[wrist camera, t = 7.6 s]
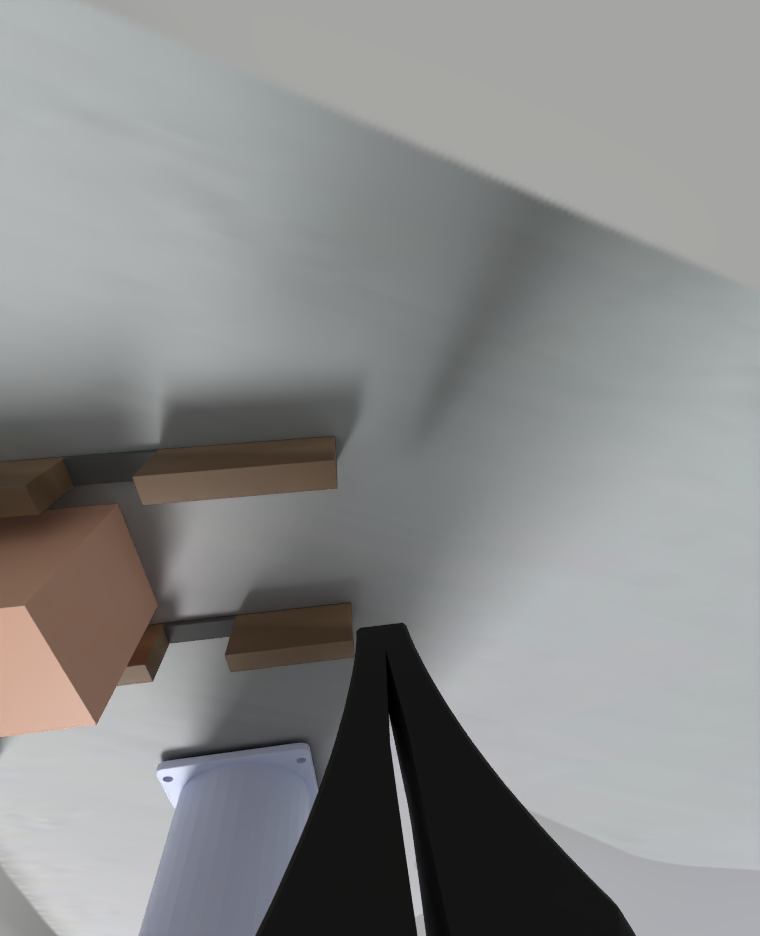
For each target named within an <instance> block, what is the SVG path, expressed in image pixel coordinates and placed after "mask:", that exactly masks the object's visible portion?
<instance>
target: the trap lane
mask: <svg viewBox="0 0 760 936" xmlns="http://www.w3.org/2000/svg"><path fill="white" fill-rule="evenodd" d="M124 481H134V483H135V486H136V489H137V491H138V494H139V497H140V500H141V502H142V505H153V504H164V503H176V502H187V501H198V500H210V499H221V498H233V497H244V496H255V495H267V494H278V493H290V492H301V491H312V490H324V489H335V488H337V458H336V448H335V438H334V436H328V437H315V438H302V439H289V440H277V441H264V442H251V443H238V444H225V445H212V446H199V447H186V448H173V449H160V450H147V451H134V452H121V453H108V454H96V455H83V456H70V457H57V458H44V459H31V460H18V461H5V462H0V518H5V517H16V516H27V515H39V514H41V513H42V512H43V511H44V510H45V509H47V508H48V507H49V506H50V505H51V504H53V503H54V502H55V501H56V500H57V499H59V498H60V497H61V496H62V495H63V494H65V493H66V492H67V491H68V490H69V489H70V488H72V487H73V486H75V485H87V484H99V483H111V482H124ZM222 637H230V639H229V643H228V646H227V650H226V653H225V657H226V660H227V663H228V667H229V670H230V672H236V671H245V670H253V669H261V668H269V667H278V666H286V665H294V664H302V663H310V662H319V661H327V660H335V659H343V658H352V657H355V655H354V638H353V621H352V610H351V603H345V604H336V605H327V606H318V607H309V608H300V609H291V610H282V611H273V612H264V613H255V614H246V615H236V616H227V617H218V618H209V619H200V620H191V621H182V622H173V623H164V624H155V625H148V626H147V628H146V630H145V632H144V634H143V636H142V638H141V640H140V641H139V643H138V645H137V647H136V649H135V651H134V653H133V655H132V657H131V659H130V661H129V663H128V665H127V667H126V669H125V670H124V672H123V674H122V676H121V678H120V680H119V682H118V684H117V686H121V685H129V684H137V683H146V682H153V680H154V678H155V675H156V673H157V671H158V668H159V666H160V664H161V662H162V659H163V657H164V655H165V652H166V650H167V648H168V646H169V643H178V642H187V641H195V640H204V639H213V638H222Z"/></svg>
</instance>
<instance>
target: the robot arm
mask: <svg viewBox="0 0 760 936" xmlns="http://www.w3.org/2000/svg"><path fill="white" fill-rule="evenodd" d="M356 635H357V640H356V653H355V660H354V666H353V672H352V678H351V682H350V687H349V691H348V696H347V700H346V704H345V708H344V712H343V716H342V719H341V723H340V726H339V730H338V733H337V737H336V740H335V744H334V747H333V750H332V753H331V756H330V759H329V762H328V765H327V768H326V771H325V774H324V777H323V780H322V782H321V785H320V788H319V790H318V785H317V780H316V775H315V771H314V766H313V761H312V756H311V751H310V747H309V745H308V744H306V743H293V744H286V745H278V746H271V747H264V748H257V749H249V750H242V751H235V752H227V753H220V754H213V755H205V756H198V757H191V758H183V759H176V760H169V761H163V762H161V763H160V764H159V765H158V767H157V769H156V772H155V773H156V776H157V778H158V779H159V781H160V783H161V785H162V787H163V789H164V790H165V792H166V794H167V796H168V798H169V800H170V801H171V803H172V805H173V807H174V809H175V812H174V815H173V819H172V822H171V826H170V829H169V833H168V836H167V840H166V843H165V846H164V850H163V853H162V857H161V860H160V864H159V867H158V870H157V874H156V877H155V881H154V884H153V888H152V891H151V895H150V898H149V901H148V905H147V908H146V912H145V915H144V919H143V922H142V926H141V929H140V932H139V936H417V930H416V923H415V916H414V909H413V903H412V896H411V889H410V882H409V875H408V868H407V861H406V855H405V848H404V841H403V834H402V827H401V819H400V812H399V805H398V798H397V791H396V784H395V776H394V769H393V762H392V754H391V747H390V733H389V716H390V721H391V726H392V731H393V736H394V740H395V745H396V750H397V755H398V760H399V764H400V769H401V774H402V779H403V783H404V788H405V793H406V798H407V803H408V808H409V814H410V820H411V825H412V833H413V840H414V847H415V855H416V862H417V869H418V877H419V884H420V892H421V899H422V907H423V915H424V922H425V929H426V936H636V935H635V933H634V932H633V930H632V928H631V927H630V925H629V923H628V922H627V920H626V919H625V917H624V915H623V914H622V912H621V911H620V909H619V908H618V906H617V905H616V904H615V903H614V902H613V901H612V900H611V898H610V897H609V896H608V895H606V893H604V892H603V891H602V890H601V889H600V888H599V887H598V886H597V885H596V884H595V883H594V882H593V881H592V880H591V879H590V878H589V877H588V875H586V873H585V872H583V870H582V869H581V868H580V867H579V866H578V865H577V864H576V863H575V862H574V861H573V860H572V859H571V858H570V857H569V856H568V855H567V854H566V853H565V852H564V851H563V850H562V848H561V847H560V846H559V845H558V844H557V843H556V842H555V841H554V840H553V839H552V838H551V837H550V835H548V833H547V832H546V831H545V830H544V829H543V828H542V827H541V826H540V824H539V823H538V822H537V821H536V820H535V819H534V817H533V816H532V815H531V814H530V813H529V812H528V811H527V809H526V808H525V807H524V806H523V805H522V804H521V802H520V801H519V800H518V799H517V798H516V797H515V795H514V794H513V793H512V792H511V791H510V790H509V788H508V787H507V786H506V785H505V784H504V782H503V781H502V780H501V779H500V777H499V776H498V775H497V774H496V772H495V771H494V770H493V768H492V767H491V766H490V765H489V763H488V762H487V761H486V759H485V758H484V757H483V755H482V754H481V753H480V751H479V750H478V749H477V747H476V746H475V745H474V743H473V742H472V741H471V739H470V738H469V736H468V735H467V733H466V732H465V731H464V729H463V728H462V726H461V725H460V723H459V722H458V720H457V719H456V717H455V716H454V714H453V713H452V711H451V710H450V708H449V707H448V705H447V703H446V702H445V700H444V699H443V697H442V695H441V694H440V692H439V690H438V689H437V687H436V685H435V683H434V682H433V680H432V678H431V677H430V675H429V673H428V671H427V669H426V668H425V666H424V664H423V662H422V660H421V658H420V656H419V654H418V652H417V650H416V648H415V646H414V644H413V641H412V639H411V637H410V634H409V632H408V629H407V626H406V625H405V624H403V623H398V624H389V625H381V626H372V627H364V628H360V629H358V630H357V631H356Z"/></svg>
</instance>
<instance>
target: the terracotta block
mask: <svg viewBox="0 0 760 936" xmlns="http://www.w3.org/2000/svg"><path fill="white" fill-rule="evenodd" d="M157 607H158V603H157V601H156V598H155V596H154V593H153V591H152V588H151V586H150V583H149V581H148V578H147V576H146V573H145V571H144V568H143V566H142V563H141V561H140V558H139V556H138V553H137V551H136V548H135V546H134V543H133V541H132V538H131V536H130V533H129V531H128V528H127V526H126V523H125V521H124V518H123V516H122V513H121V511H120V508H119V506H118V504H108V505H96V506H85V507H73V508H62V509H50V510H44V511H43V512H42V513H41V514H39V515H27V516H16V517H5V518H0V737H6V736H14V735H21V734H29V733H37V732H44V731H52V730H60V729H67V728H75V727H83V726H90V725H97V723H98V721H99V719H100V717H101V715H102V713H103V711H104V709H105V707H106V705H107V703H108V701H109V700H110V698H111V696H112V694H113V692H114V690H115V688H116V686H117V684H118V682H119V680H120V678H121V676H122V674H123V672H124V670H125V669H126V667H127V665H128V663H129V661H130V659H131V657H132V655H133V653H134V651H135V649H136V647H137V645H138V643H139V641H140V640H141V638H142V636H143V634H144V632H145V630H146V628H147V626H148V624H149V622H150V620H151V618H152V616H153V614H154V612H155V610H156V609H157Z"/></svg>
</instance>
